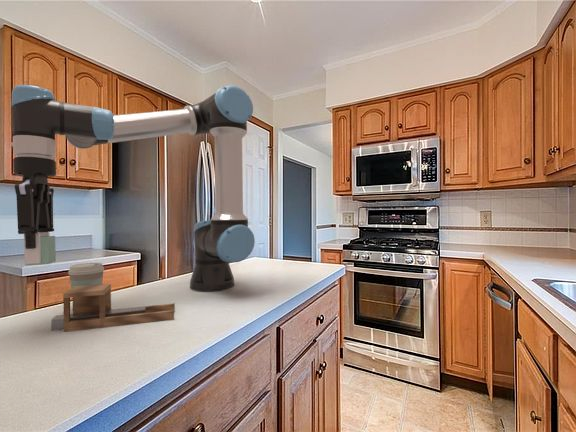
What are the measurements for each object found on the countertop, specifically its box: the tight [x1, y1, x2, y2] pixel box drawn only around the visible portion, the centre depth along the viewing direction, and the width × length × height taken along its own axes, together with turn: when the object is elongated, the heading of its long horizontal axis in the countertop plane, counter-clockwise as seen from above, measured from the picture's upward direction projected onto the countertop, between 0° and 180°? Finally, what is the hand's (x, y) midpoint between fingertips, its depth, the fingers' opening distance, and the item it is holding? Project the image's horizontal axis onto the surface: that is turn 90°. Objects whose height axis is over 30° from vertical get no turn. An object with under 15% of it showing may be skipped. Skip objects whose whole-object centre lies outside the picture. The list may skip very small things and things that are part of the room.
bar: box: [50, 305, 147, 332], centre depth 75 cm, size 19×3×3 cm, turn 111°
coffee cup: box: [67, 262, 105, 289], centre depth 87 cm, size 8×8×12 cm
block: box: [24, 235, 57, 266], centre depth 71 cm, size 4×4×6 cm
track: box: [62, 283, 176, 332], centre depth 77 cm, size 23×7×8 cm, turn 109°
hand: (38, 261), depth 71 cm, fingers closed on block, 4 cm apart
